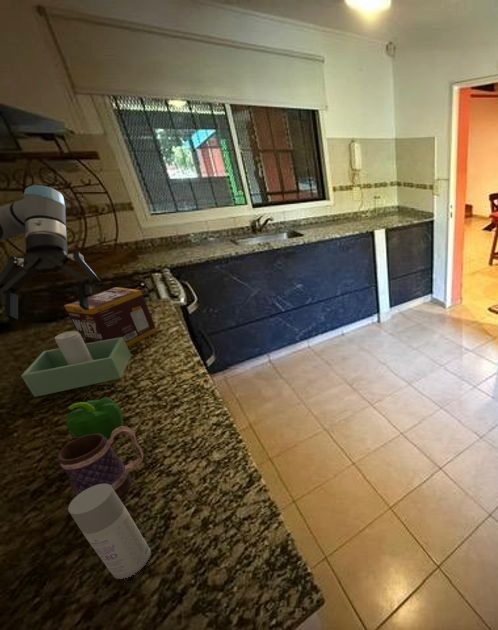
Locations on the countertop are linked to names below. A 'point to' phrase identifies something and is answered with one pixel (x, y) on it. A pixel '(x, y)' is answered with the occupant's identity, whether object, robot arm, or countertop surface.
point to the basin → (77, 368)
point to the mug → (98, 462)
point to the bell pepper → (94, 418)
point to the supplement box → (113, 316)
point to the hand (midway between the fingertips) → (49, 313)
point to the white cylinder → (73, 347)
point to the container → (110, 530)
